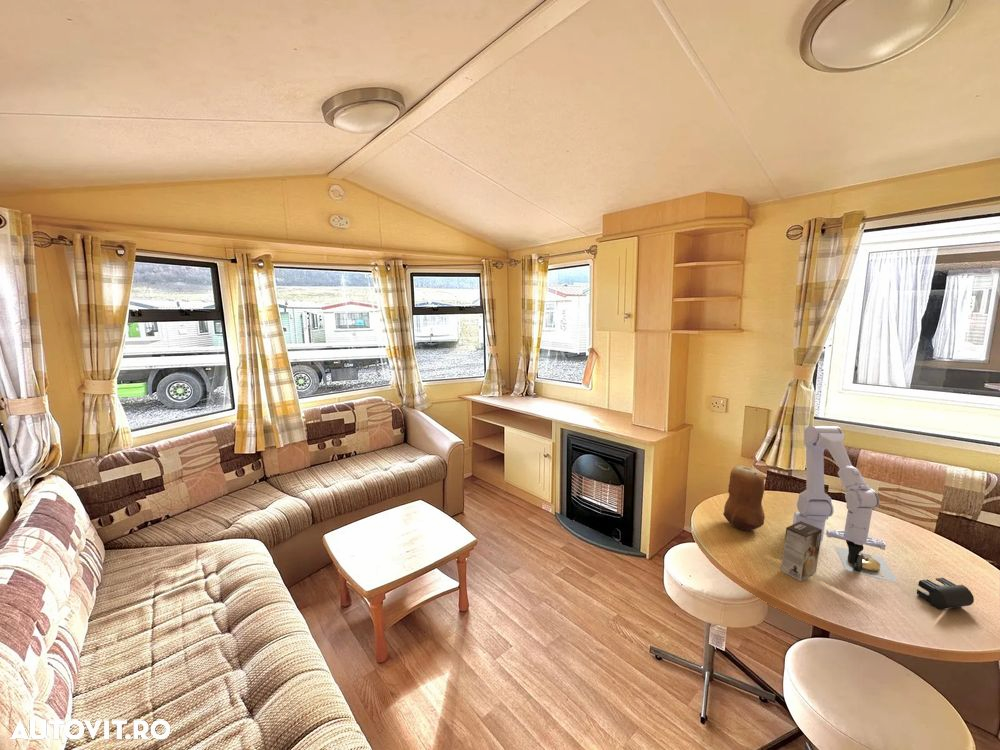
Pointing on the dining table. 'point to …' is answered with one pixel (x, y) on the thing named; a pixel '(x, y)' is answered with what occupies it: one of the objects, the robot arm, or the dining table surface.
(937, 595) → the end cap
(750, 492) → the butternut squash
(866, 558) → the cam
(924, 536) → the dining table surface
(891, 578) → the board
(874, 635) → the dining table surface
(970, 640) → the dining table surface
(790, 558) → the coffee box
